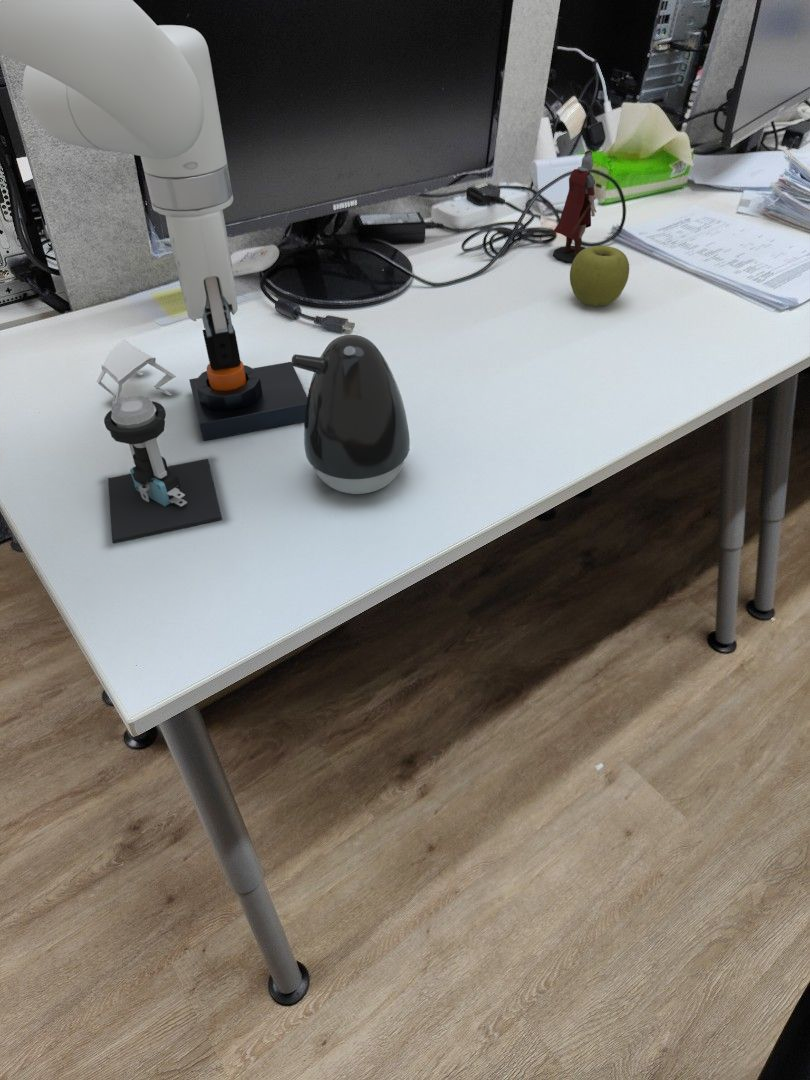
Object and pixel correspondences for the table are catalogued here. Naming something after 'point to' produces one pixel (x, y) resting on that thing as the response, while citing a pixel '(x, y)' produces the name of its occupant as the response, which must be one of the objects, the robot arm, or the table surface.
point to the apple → (599, 275)
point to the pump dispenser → (354, 417)
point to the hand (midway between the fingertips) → (225, 364)
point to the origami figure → (129, 367)
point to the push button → (145, 447)
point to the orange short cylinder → (226, 377)
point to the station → (250, 402)
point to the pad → (152, 517)
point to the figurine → (577, 210)
